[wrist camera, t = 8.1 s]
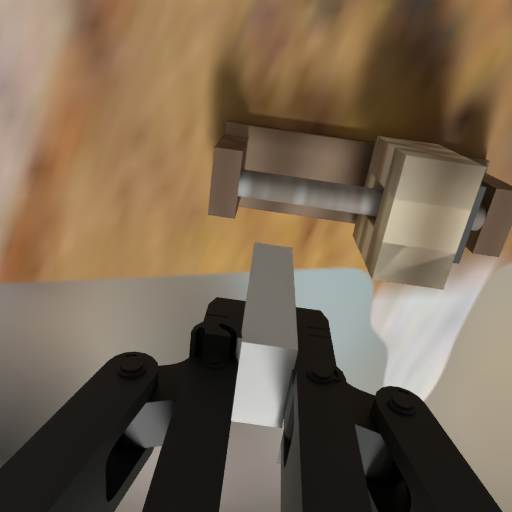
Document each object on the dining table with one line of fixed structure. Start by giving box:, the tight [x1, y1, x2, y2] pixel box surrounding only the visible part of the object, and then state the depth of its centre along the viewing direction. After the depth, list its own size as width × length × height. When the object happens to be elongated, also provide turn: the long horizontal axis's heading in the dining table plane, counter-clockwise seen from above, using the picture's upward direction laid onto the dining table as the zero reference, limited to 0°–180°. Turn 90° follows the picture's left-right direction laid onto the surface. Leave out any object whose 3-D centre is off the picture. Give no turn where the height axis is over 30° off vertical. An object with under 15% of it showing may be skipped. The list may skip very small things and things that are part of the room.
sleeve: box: [353, 136, 486, 289], centre depth 32 cm, size 5×9×9 cm, turn 172°
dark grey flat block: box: [453, 184, 486, 264], centre depth 32 cm, size 1×6×6 cm, turn 172°
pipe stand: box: [208, 121, 512, 257], centre depth 34 cm, size 22×7×7 cm, turn 82°
